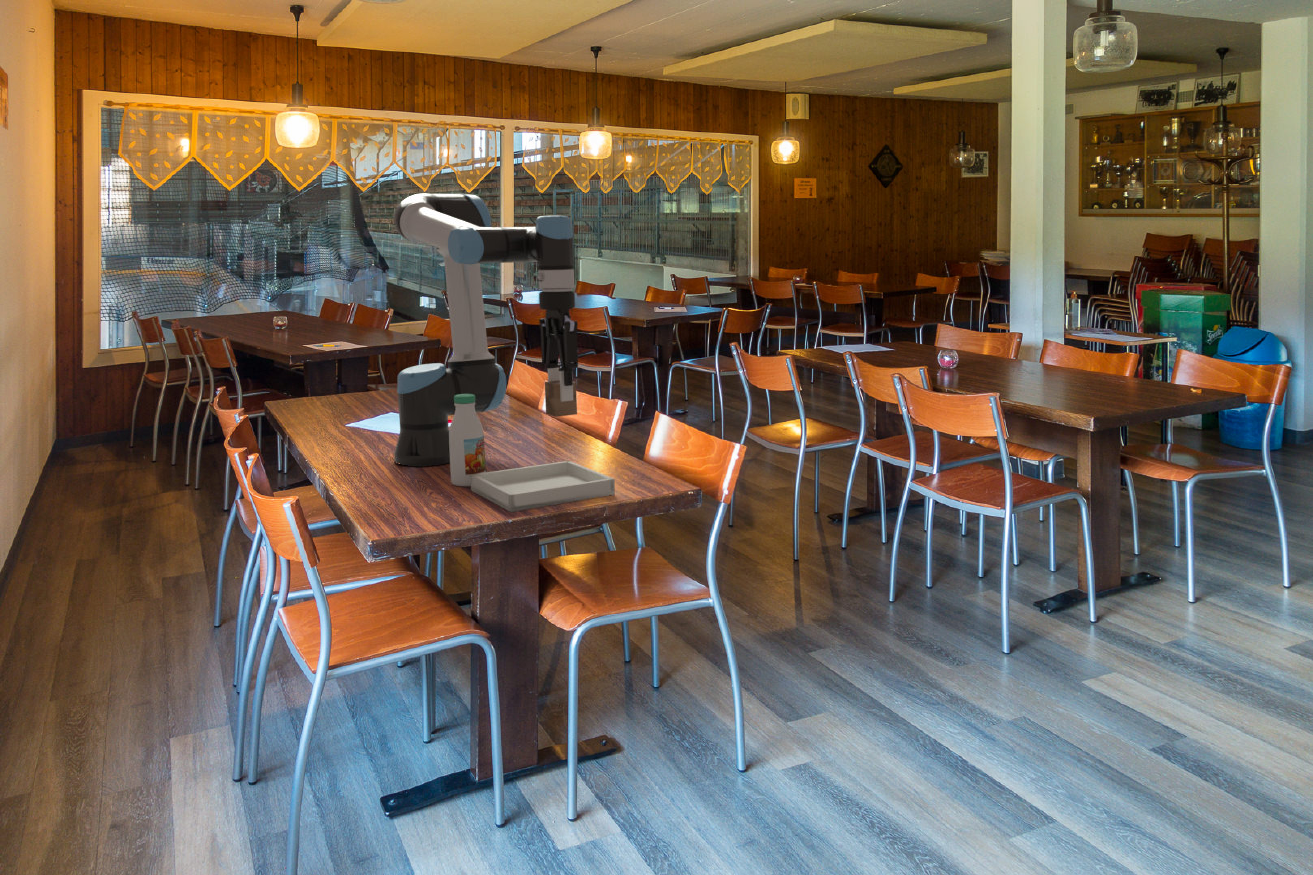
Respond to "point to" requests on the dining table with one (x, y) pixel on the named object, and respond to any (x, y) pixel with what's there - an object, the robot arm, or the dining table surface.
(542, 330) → the robot arm
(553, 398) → the walnut block
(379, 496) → the dining table surface
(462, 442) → the milk bottle
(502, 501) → the tray
